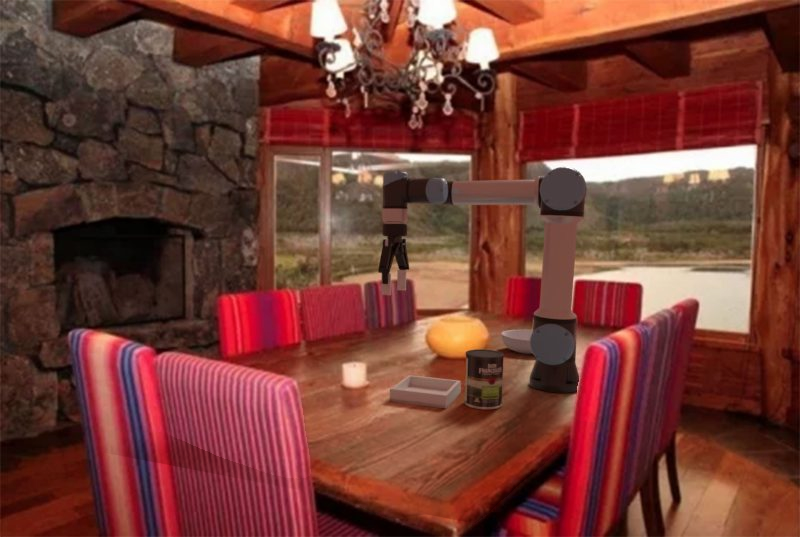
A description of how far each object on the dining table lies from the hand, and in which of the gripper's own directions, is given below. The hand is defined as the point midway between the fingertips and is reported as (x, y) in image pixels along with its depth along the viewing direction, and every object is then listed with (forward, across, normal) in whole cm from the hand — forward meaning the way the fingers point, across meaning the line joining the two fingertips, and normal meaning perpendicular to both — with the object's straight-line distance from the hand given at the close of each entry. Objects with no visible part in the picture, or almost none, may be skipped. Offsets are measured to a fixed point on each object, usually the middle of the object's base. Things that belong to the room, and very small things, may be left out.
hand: (394, 292), depth 179 cm
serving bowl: (+28, -61, +33) cm, 75 cm away
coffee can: (+28, +12, +31) cm, 43 cm away
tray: (+28, +12, +14) cm, 33 cm away
